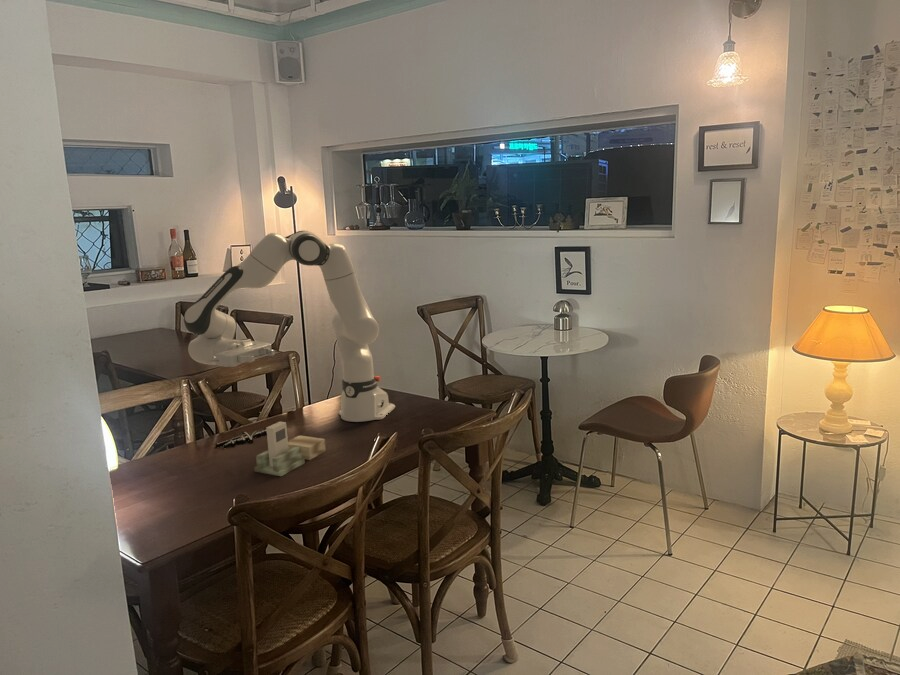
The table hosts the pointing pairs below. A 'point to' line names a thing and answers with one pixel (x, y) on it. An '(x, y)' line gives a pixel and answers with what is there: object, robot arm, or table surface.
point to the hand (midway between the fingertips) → (263, 356)
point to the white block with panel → (277, 440)
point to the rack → (279, 462)
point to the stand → (308, 446)
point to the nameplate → (241, 438)
